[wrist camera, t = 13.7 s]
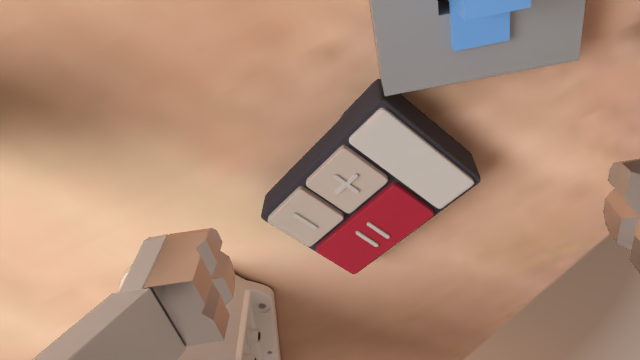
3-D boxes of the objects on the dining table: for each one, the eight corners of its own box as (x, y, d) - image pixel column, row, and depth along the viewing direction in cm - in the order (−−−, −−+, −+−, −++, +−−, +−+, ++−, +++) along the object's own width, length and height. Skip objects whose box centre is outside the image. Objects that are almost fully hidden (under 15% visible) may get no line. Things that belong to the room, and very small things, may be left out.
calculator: (257, 223, 39) (382, 102, 32) (264, 191, 42) (378, 75, 35) (354, 282, 43) (486, 186, 36) (353, 248, 46) (473, 154, 39)
